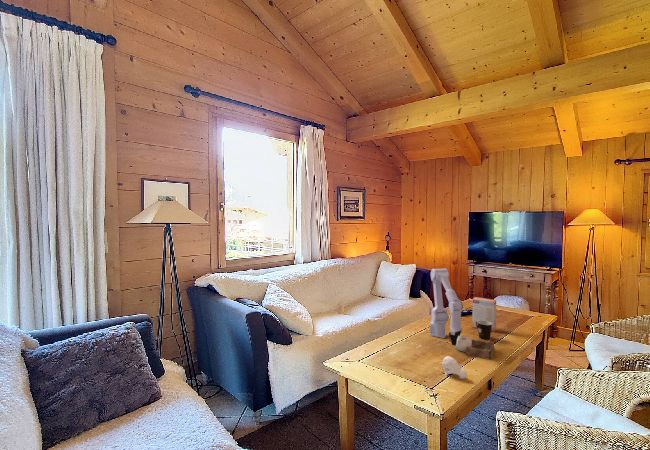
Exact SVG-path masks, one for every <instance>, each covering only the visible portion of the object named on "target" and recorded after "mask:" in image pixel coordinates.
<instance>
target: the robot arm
mask: <svg viewBox="0 0 650 450" xmlns="http://www.w3.org/2000/svg"><path fill="white" fill-rule="evenodd" d="M449 276H450V273H449V270H448V269H447V268H445V267H444V268H432V269H431V271H430V279H431V282H432V287H433V297H434V298H433V299H434V307H433V308H432V309H431V311H430V312H431V314H430V319H431V321H430V323H429V336H430V337H436V338H442V339H445V338H446V337H447V336H449V338H450V342H451V345H452V346H454V347H455V346H456V343H457V338H458V336H461V333H462V331H463V330H464V329H463V328H461V327H462V326H461V325H462V323H461V322H462V320H461V319H462V311H463V309H464V304H463V301H462V300H460V298H459V297H458V295H457V293H456V291H455V289H452V285H451V283H450V280H449V278H450V277H449ZM442 286H443V288H444V290H445V291H446V292H445V296H446V299H447V300H448V301H447V302H448V308H449V313H450V318H449V313H448V309H447V308H445V307H444V300H443V291H442ZM449 319H450V323H449V324H450V327H449V329H450V332H448V333H446V324H447V322H448V320H449Z"/></svg>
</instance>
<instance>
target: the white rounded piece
mask: <svg viewBox="0 0 650 450" xmlns="http://www.w3.org/2000/svg"><path fill="white" fill-rule="evenodd" d="M441 365H442V368H443V372H444V374H445V376H448V375H451V374H453V375H457V376H458V377H459V379H460V380H461V379H462V380H465V378H467V377H468V373H467V371H466V370H465V369H463V368H461V366H460V364H459V363H458V361H457V360H456V359H455V358H454V357H451V356H449V355H447V356H445V357H444V358H443V359H442V363H441Z"/></svg>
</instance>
